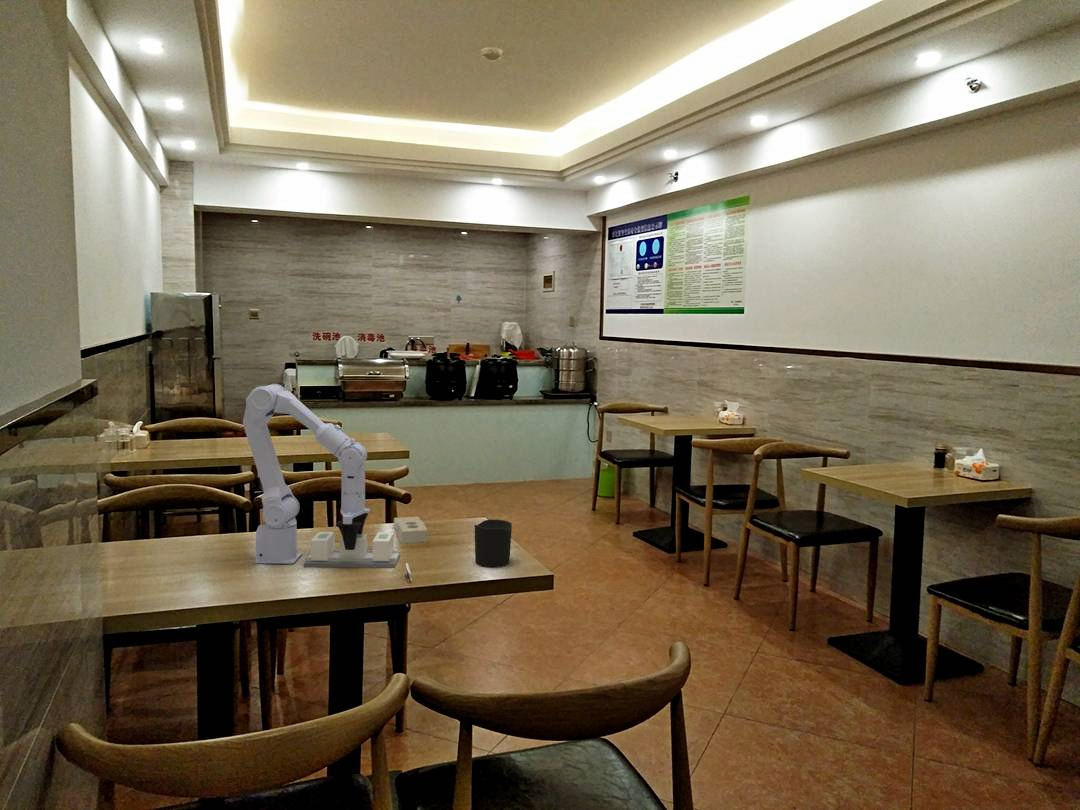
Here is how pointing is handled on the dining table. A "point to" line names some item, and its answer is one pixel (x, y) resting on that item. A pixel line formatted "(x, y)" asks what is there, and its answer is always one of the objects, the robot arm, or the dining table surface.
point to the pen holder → (493, 543)
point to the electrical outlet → (411, 530)
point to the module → (359, 547)
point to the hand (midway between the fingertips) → (353, 545)
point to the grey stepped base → (329, 557)
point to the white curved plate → (408, 572)
